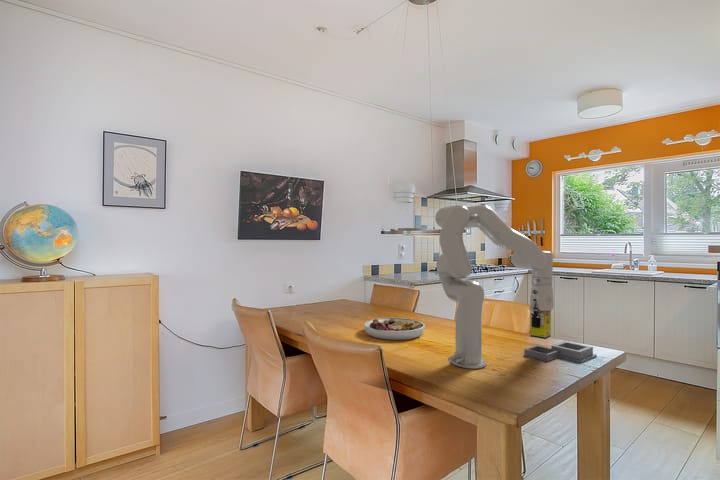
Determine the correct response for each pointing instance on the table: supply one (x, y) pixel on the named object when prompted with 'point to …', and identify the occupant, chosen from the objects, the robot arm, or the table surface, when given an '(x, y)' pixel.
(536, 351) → the grey square tray
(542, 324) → the supplement box
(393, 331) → the bowl
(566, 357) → the block
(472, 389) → the table surface
